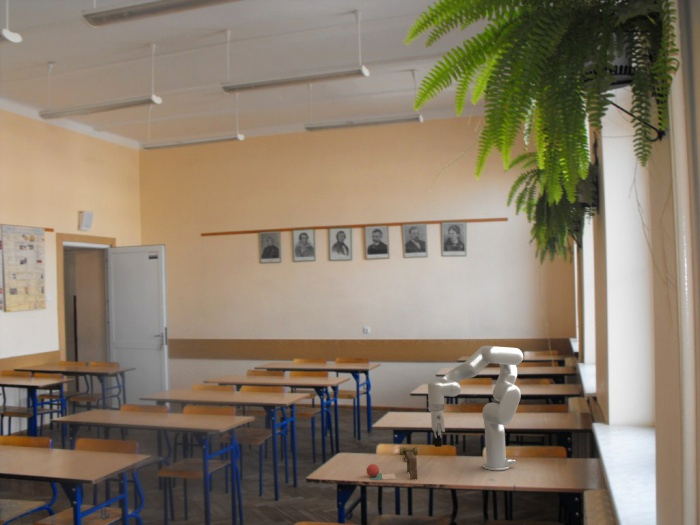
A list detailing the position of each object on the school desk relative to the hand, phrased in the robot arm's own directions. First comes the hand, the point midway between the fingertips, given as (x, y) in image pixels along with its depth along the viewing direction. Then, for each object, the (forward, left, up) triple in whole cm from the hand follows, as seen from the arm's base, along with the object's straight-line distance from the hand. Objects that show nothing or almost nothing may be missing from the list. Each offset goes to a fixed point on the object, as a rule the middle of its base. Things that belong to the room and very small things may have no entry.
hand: (438, 446), depth 314 cm
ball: (+32, 0, -10) cm, 33 cm away
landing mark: (+27, 0, -13) cm, 30 cm away
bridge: (+13, 0, -13) cm, 19 cm away
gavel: (+10, -38, -14) cm, 42 cm away
